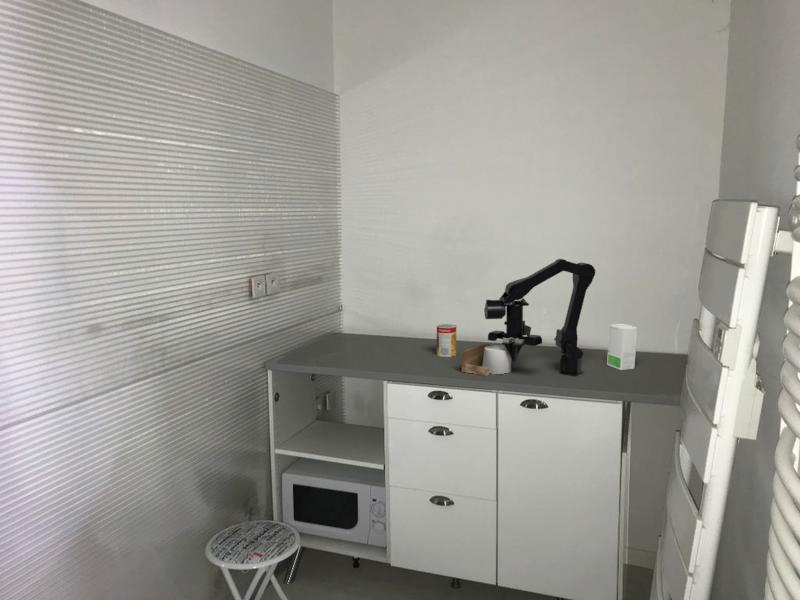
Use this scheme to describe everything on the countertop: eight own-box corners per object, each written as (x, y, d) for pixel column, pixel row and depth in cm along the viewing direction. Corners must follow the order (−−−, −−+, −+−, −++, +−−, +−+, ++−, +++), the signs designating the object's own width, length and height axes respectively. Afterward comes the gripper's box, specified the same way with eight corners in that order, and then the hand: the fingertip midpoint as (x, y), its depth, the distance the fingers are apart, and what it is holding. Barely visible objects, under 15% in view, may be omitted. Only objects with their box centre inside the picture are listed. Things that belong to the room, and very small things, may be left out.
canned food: (456, 352, 265) (456, 323, 263) (456, 357, 257) (456, 327, 255) (437, 352, 265) (437, 323, 264) (436, 357, 258) (436, 327, 256)
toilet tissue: (477, 375, 229) (477, 351, 228) (490, 367, 240) (490, 344, 239) (501, 378, 225) (501, 354, 223) (513, 369, 236) (514, 346, 235)
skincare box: (606, 365, 241) (607, 324, 239) (620, 363, 243) (622, 322, 241) (621, 370, 233) (623, 328, 231) (636, 368, 236) (638, 326, 233)
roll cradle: (511, 367, 240) (511, 346, 239) (486, 376, 227) (486, 354, 226) (486, 363, 246) (487, 342, 245) (461, 372, 233) (461, 350, 232)
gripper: (549, 317, 227) (549, 361, 229) (502, 313, 239) (502, 354, 241) (534, 322, 218) (534, 367, 221) (487, 317, 230) (487, 360, 232)
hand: (514, 361), depth 229 cm, fingers closed
